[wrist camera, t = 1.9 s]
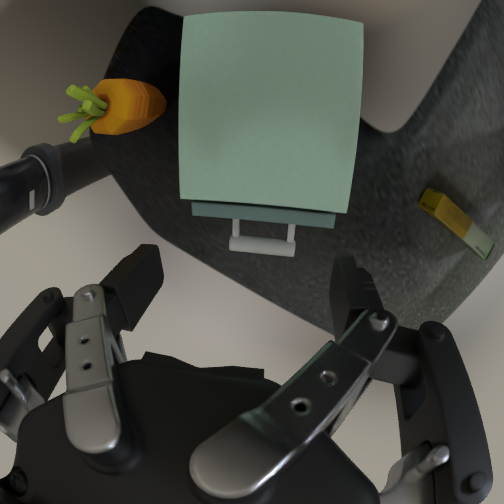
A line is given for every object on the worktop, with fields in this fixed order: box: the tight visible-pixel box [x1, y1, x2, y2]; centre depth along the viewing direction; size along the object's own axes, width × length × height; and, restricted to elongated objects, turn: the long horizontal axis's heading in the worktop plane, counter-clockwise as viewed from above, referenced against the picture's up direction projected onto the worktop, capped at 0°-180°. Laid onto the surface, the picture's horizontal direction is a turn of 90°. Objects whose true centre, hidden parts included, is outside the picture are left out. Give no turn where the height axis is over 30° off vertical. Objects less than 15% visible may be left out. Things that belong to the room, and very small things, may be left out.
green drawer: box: [192, 199, 336, 257], centre depth 23 cm, size 18×11×8 cm, turn 177°
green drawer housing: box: [179, 11, 363, 213], centre depth 20 cm, size 15×13×10 cm
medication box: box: [418, 188, 494, 261], centre depth 25 cm, size 12×3×4 cm, turn 65°
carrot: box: [58, 79, 167, 143], centre depth 19 cm, size 5×5×15 cm
